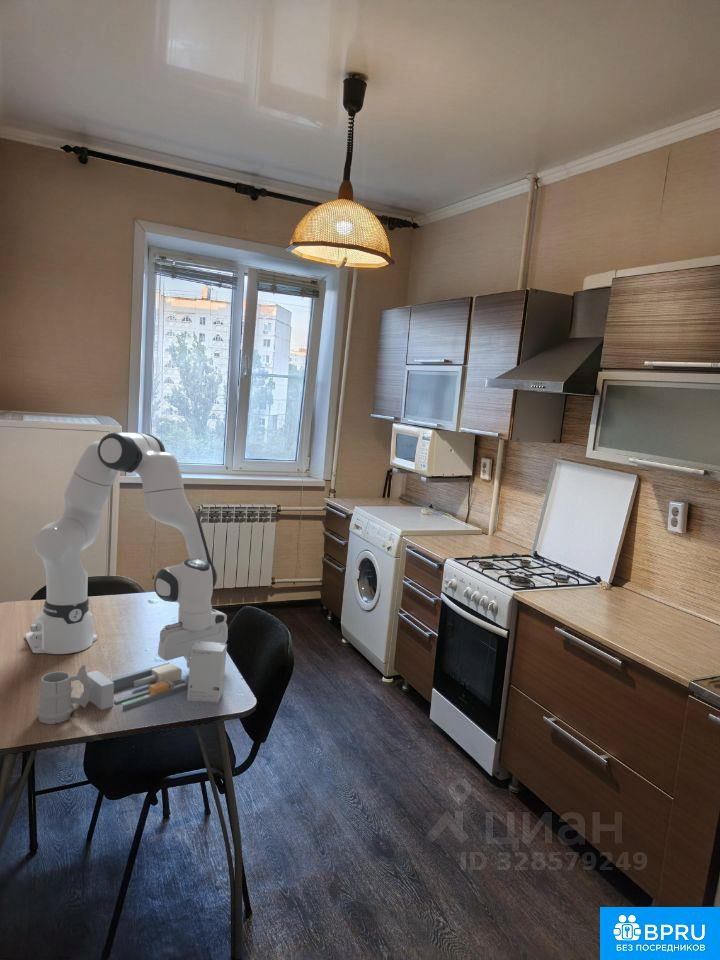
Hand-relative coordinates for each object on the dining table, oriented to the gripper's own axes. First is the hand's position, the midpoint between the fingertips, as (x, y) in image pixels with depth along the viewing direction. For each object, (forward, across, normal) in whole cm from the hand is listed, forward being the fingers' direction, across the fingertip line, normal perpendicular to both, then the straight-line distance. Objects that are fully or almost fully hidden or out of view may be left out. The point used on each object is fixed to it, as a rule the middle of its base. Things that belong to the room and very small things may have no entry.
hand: (192, 666), depth 174 cm
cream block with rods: (+1, -11, -2) cm, 11 cm away
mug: (+3, -34, +1) cm, 35 cm away
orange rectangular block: (+2, -14, -6) cm, 15 cm away
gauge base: (+3, -15, 0) cm, 15 cm away
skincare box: (+3, -5, -14) cm, 15 cm away
